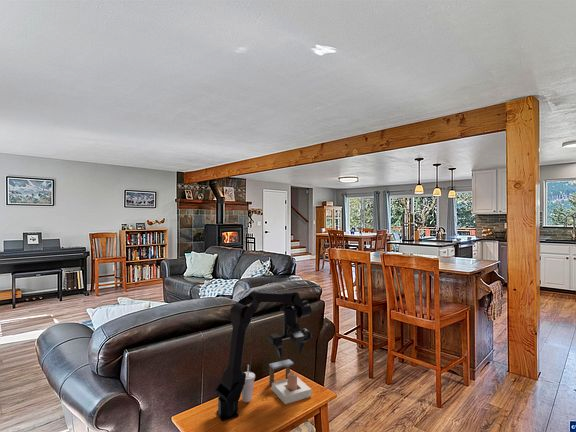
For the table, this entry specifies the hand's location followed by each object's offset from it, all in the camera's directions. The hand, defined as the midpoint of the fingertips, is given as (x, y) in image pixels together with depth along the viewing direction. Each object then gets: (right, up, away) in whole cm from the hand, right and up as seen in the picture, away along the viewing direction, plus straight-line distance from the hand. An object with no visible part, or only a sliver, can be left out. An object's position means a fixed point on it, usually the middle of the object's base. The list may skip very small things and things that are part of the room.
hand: (289, 356), depth 143 cm
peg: (+1, -13, -6) cm, 14 cm away
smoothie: (-17, -13, -10) cm, 24 cm away
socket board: (+1, -13, -6) cm, 14 cm away
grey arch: (-4, -13, +3) cm, 14 cm away
